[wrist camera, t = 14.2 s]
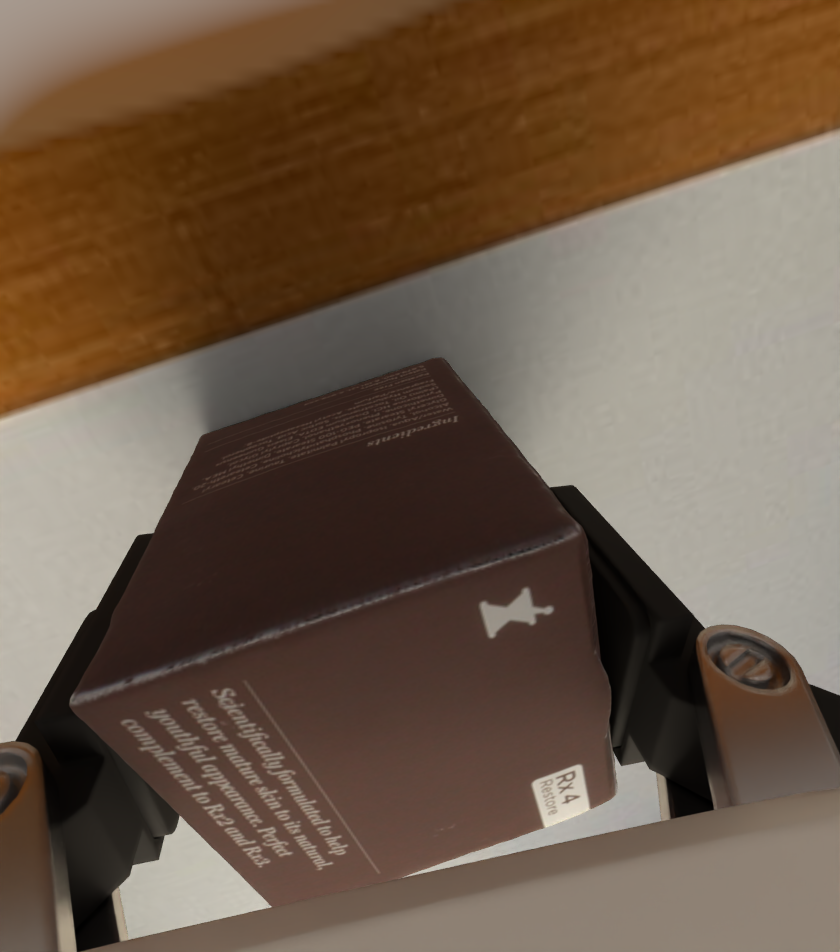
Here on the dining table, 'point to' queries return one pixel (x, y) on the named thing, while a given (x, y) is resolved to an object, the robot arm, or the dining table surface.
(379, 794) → the box
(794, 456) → the dining table surface
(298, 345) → the dining table surface
